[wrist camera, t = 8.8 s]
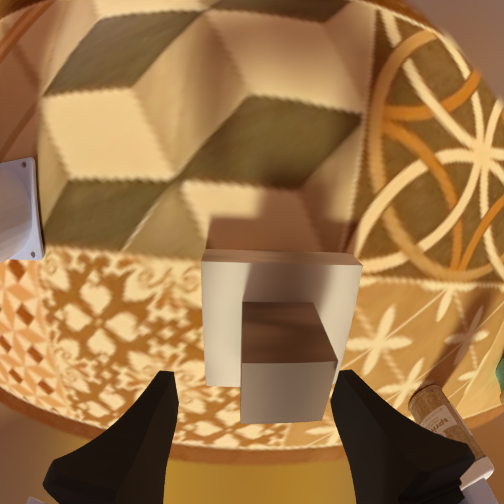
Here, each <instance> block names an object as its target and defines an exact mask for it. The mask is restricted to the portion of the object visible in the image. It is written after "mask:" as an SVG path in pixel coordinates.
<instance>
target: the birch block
mask: <svg viewBox="0 0 504 504" xmlns="http://www.w3.org/2000/svg"><path fill="white" fill-rule="evenodd" d="M362 267H363V265H362V264H361V263H360V262H359V261H358V260H357V259H356V258H355V257H354V256H353V255H352V254H351V253H337V252H303V251H268V250H232V249H205V252H204V254H203V257H202V260H201V283H202V315H203V338H204V357H205V374H206V386H224V387H240V374H241V322H242V302H288V303H314V306H315V308H316V310H317V312H318V315H319V317H320V319H321V322H322V324H323V326H324V329H325V331H326V333H327V335H328V338H329V340H330V342H331V345H332V347H333V349H334V352H335V354H336V357H337V359H338V365H337V368H336V372H335V376H334V380H333V383H332V384H336V380H337V377H338V373H339V371H340V367H341V363H342V359H343V356H344V352H345V348H346V344H347V340H348V335H349V331H350V327H351V322H352V318H353V313H354V309H355V304H356V299H357V294H358V289H359V284H360V278H361V273H362Z"/></svg>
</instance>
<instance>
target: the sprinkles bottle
mask: <svg viewBox="0 0 504 504" xmlns="http://www.w3.org/2000/svg"><path fill="white" fill-rule="evenodd" d="M408 410H409V412H410V413H411V414H412V415H413V417H414V419H415V421H416V423H417V424H418V425H420V426H422V427H424V428H426V429H428V430H430V431H432V432H434V433H437V434H439V435H442V436H444V437H447V438H449V439H453V440H456V441H460V442H463V443H467V444H468V445H469V447H470V449H471V450H472V452H473V454H474V455H475V461H474V463H473V464H472V466H471V467H470V468H469V469H468V470H467V471H466V472H465V473H464V474H463V475H462V476H461V477H460V480H461V482H462V485H461V486H459V487H460V489H461V491H462V490H463V489H464V488H466V487H468V486H469V485H471V484H473V483H475V482H477V481H478V480H480V479H482V478H485V480H486V479H487V478H488V477H489V476H490V475H491V474H492V473H493V471H494V467H493V465H492V463H491V461H490V460H489V458H488V457H486V455H485V454H483V452H482V450H481V449H480V447H479V445H478V444H477V442H476V441H475V439H474V437H473V434H472V433H471V431H470V430H469V428H468V427H467V425H466V424H465V422H464V421H463V419H462V418H461V416H460V415H459V413H458V412H457V410H456V409H455V408H454V406H453V405H452V404H451V403H450V402H449V400H448V399H447V397H446V396H445V394H444V393H443V392H442V389H441V387H440V386H438V385H430V386H428V387H426V388H424V389H422V390H421V391H419V392H418V393H417V394H416V395H415V396H414V397H413V398H412V400H411V401H410V403H409V405H408Z"/></svg>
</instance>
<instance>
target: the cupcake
mask: <svg viewBox="0 0 504 504" xmlns="http://www.w3.org/2000/svg"><path fill="white" fill-rule="evenodd" d="M496 376H497V379H498V381H499V384H500V388H501V394H500V402H501V403H502V404H503V405H504V357H503V358H502V360H501V361H500V363H499V365H498V367H497V369H496Z"/></svg>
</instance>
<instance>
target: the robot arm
mask: <svg viewBox="0 0 504 504" xmlns="http://www.w3.org/2000/svg"><path fill="white" fill-rule="evenodd" d="M25 163H26V167H25V165H24V164H25ZM33 252H34V253H35V255H34V253H33ZM43 258H44V249H43V243H42V236H41V229H40V221H39V212H38V201H37V188H36V167H35V160H34V158H33V157H28V158H23V159H18V160H13V161H8V162H4V163H0V263H2V262H3V261H5V260H7V259H18V260H41V259H43ZM330 402H331V407H332V413H333V417H334V421H335V424H336V427H337V430H338V433H339V435H340V438H341V441H342V444H343V446H344V449H345V452H346V455H347V458H348V461H349V464H350V469H351V474H352V479H353V484H354V490H355V496H356V503H357V504H498V502H497V500H496V498H495V496H494V495H493V493H492V491H491V489H490V487H489V485H488V484H487V482H486V480H485V478H482V479H480V480H478V481H477V482H475V483H473V484H471V485H469V486H468V487H466V488H464V489H463V490H462V491H461V489H460V487H459V486H461V485H462V482H461V480H460V477H461V476H462V475H463V474H464V473H465V472H466V471H467V470H468V469H469V468H470V467H471V466H472V464H473V463H474V461H475V455H474V454H473V452H472V450H471V449H470V447H469V445H468V444H467V443H463V442H460V441H456V440H453V439H449V438H447V437H444V436H442V435H439V434H437V433H434V432H432V431H430V430H428V429H426V428H424V427H422V426H420V425H418V424H417V423H415V422H413V421H412V420H410V419H409V418H407V417H405V416H404V415H402V414H401V413H400V412H398V411H397V410H396V409H394V408H393V407H392V406H391V405H389V404H388V403H387V402H386V401H385V400H383V399H382V398H381V397H380V396H379V395H378V394H377V393H376V392H374V391H373V390H372V389H371V388H370V387H369V386H368V385H367V384H366V383H365V382H364V381H363V380H362V379H361V378H360V377H359V376H358V375H357V374H356V373H355V372H354V371H353V370H341V371H339V373H338V377H337V380H336V384H335V387H334V391H333V394H332V397H331V401H330ZM178 406H179V401H178V395H177V389H176V383H175V377H174V372H171V371H159V372H158V373H157V374H156V376H155V377H154V379H153V380H152V381H151V383H150V384H149V386H148V387H147V388H146V389H145V391H144V392H143V393H142V394H141V396H140V397H139V398H138V399H137V400H136V402H135V403H134V404H133V405H132V406H131V407H130V408H129V409H128V410H127V411H126V412H125V414H124V415H123V416H122V417H121V418H119V419H118V420H117V421H116V422H115V423H114V424H113V425H112V426H111V427H109V428H108V429H107V430H106V431H104V432H103V433H102V434H100V435H99V436H98V437H96V438H95V439H93V440H92V441H90V442H89V443H87V444H85V445H84V446H82V447H80V448H79V449H77V450H75V451H73V452H71V453H69V454H67V455H64V456H62V457H60V458H58V459H55V460H53V462H52V464H51V465H50V467H49V469H48V472H47V474H46V477H45V479H44V482H43V487H44V489H45V490H46V491H47V492H48V493H49V494H50V495H51V496H52V497H53V498H54V499H55V500H56V501H57V502H58V503H59V504H163V497H164V484H165V474H166V466H167V461H168V457H169V453H170V448H171V444H172V440H173V436H174V432H175V427H176V423H177V415H178ZM27 504H46V503H44V502H42V501H39V500H37V499H35V498H33V497H29V499H28V502H27Z"/></svg>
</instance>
